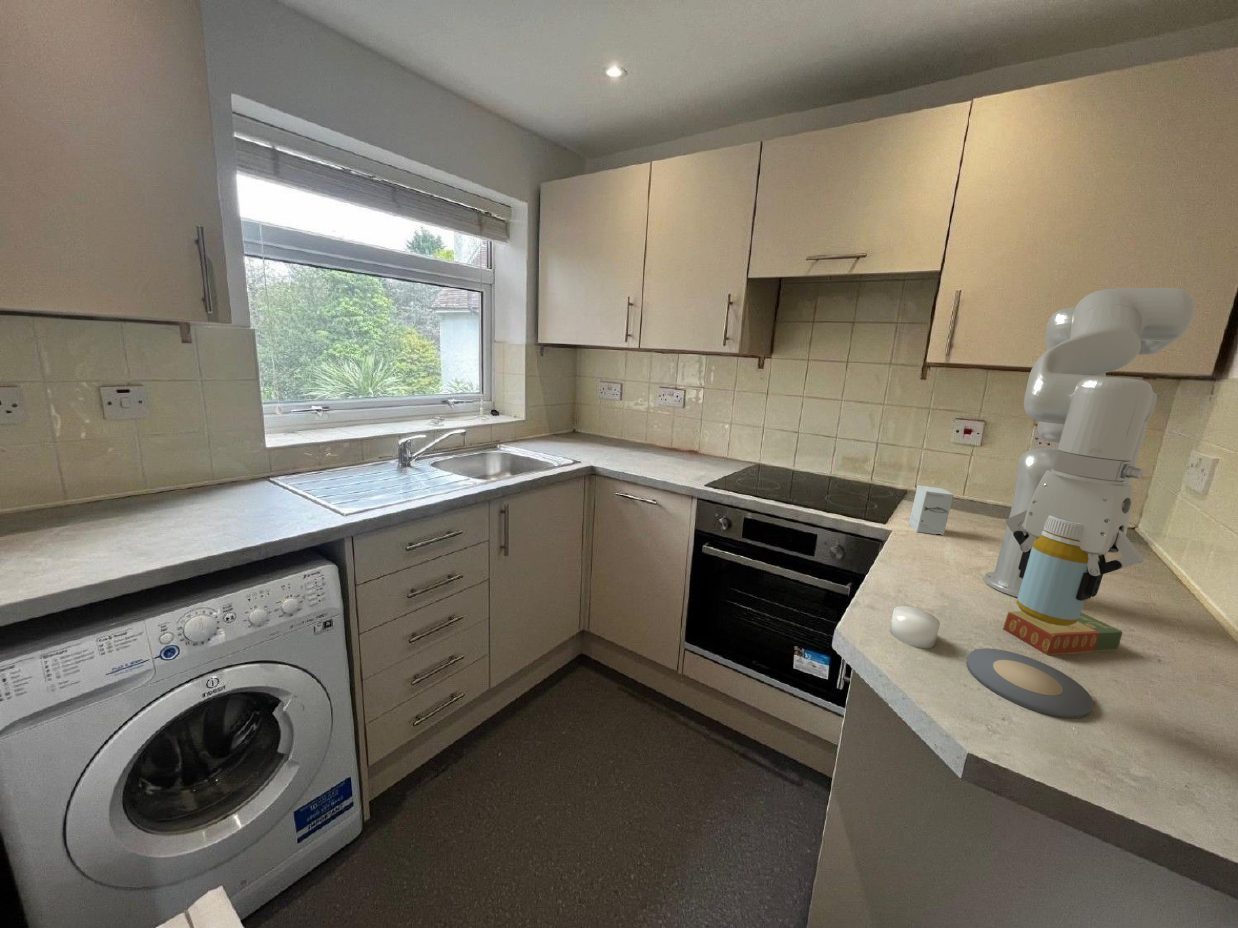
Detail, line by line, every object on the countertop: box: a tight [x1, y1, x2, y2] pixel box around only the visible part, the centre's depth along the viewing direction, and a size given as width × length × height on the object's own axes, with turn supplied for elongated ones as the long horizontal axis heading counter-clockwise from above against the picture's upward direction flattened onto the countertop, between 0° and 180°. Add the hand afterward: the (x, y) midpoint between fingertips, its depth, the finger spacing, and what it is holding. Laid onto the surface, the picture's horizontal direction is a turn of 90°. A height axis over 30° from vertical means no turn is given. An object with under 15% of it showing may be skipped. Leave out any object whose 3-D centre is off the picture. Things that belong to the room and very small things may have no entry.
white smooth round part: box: [888, 605, 941, 649], centre depth 87 cm, size 7×7×4 cm
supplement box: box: [908, 484, 954, 536], centre depth 146 cm, size 7×7×13 cm
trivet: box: [966, 647, 1094, 719], centre depth 76 cm, size 15×15×1 cm
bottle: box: [1016, 516, 1089, 626], centre depth 72 cm, size 7×7×15 cm
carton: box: [1002, 610, 1123, 656], centre depth 90 cm, size 8×16×4 cm, turn 102°
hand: (1053, 586), depth 73 cm, fingers closed on bottle, 6 cm apart
